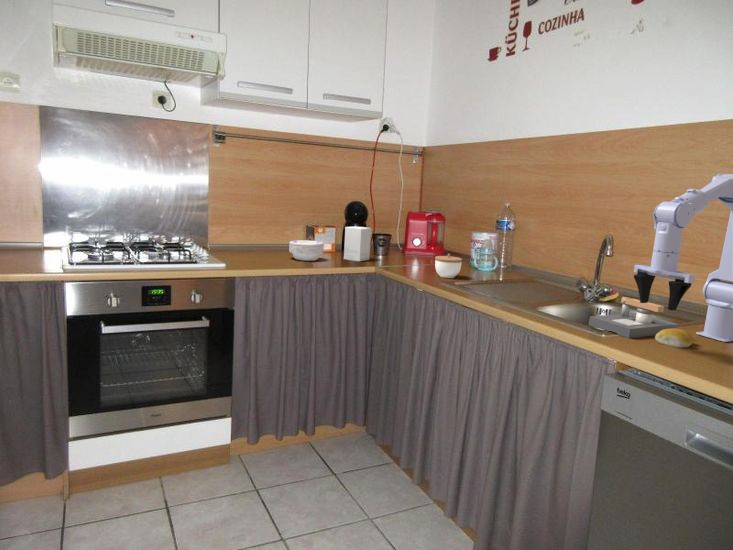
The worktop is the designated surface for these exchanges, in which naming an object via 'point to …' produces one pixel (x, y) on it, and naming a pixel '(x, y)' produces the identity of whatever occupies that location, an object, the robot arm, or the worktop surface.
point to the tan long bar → (642, 304)
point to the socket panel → (629, 324)
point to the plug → (644, 316)
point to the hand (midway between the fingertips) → (657, 306)
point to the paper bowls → (306, 249)
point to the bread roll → (674, 338)
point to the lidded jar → (447, 266)
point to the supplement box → (357, 243)
